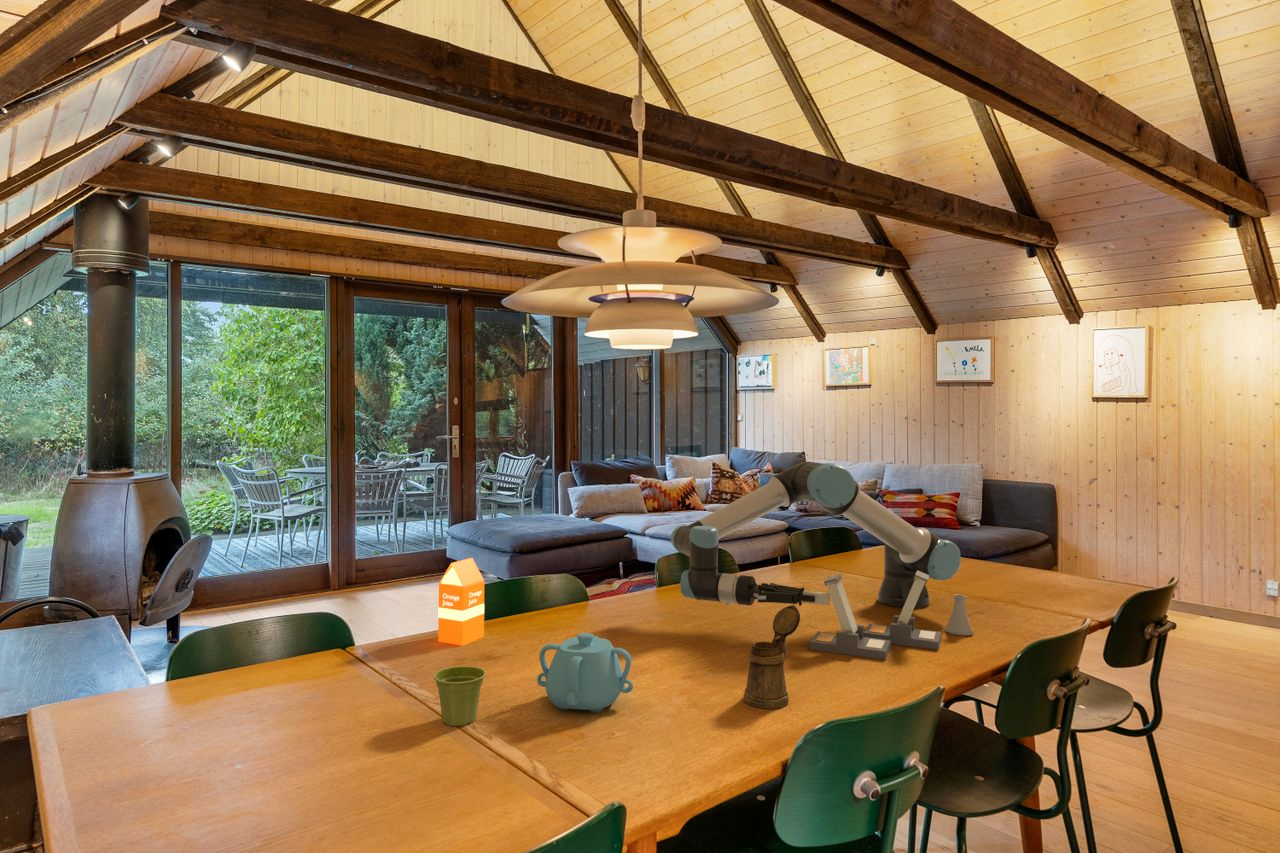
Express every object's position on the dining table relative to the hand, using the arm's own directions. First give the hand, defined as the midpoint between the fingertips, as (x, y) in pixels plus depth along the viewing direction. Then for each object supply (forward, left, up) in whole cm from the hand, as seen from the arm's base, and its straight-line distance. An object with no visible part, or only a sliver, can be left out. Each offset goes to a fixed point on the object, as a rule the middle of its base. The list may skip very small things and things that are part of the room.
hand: (829, 599), depth 190 cm
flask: (-6, +40, -12) cm, 43 cm away
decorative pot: (+27, -65, -12) cm, 71 cm away
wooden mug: (+31, -27, -12) cm, 42 cm away
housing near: (+3, +4, -12) cm, 13 cm away
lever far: (-3, +21, -8) cm, 23 cm away
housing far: (-2, +21, -12) cm, 25 cm away
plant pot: (+32, -89, -12) cm, 95 cm away
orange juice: (-21, -90, -12) cm, 93 cm away
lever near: (+3, +5, -8) cm, 10 cm away
